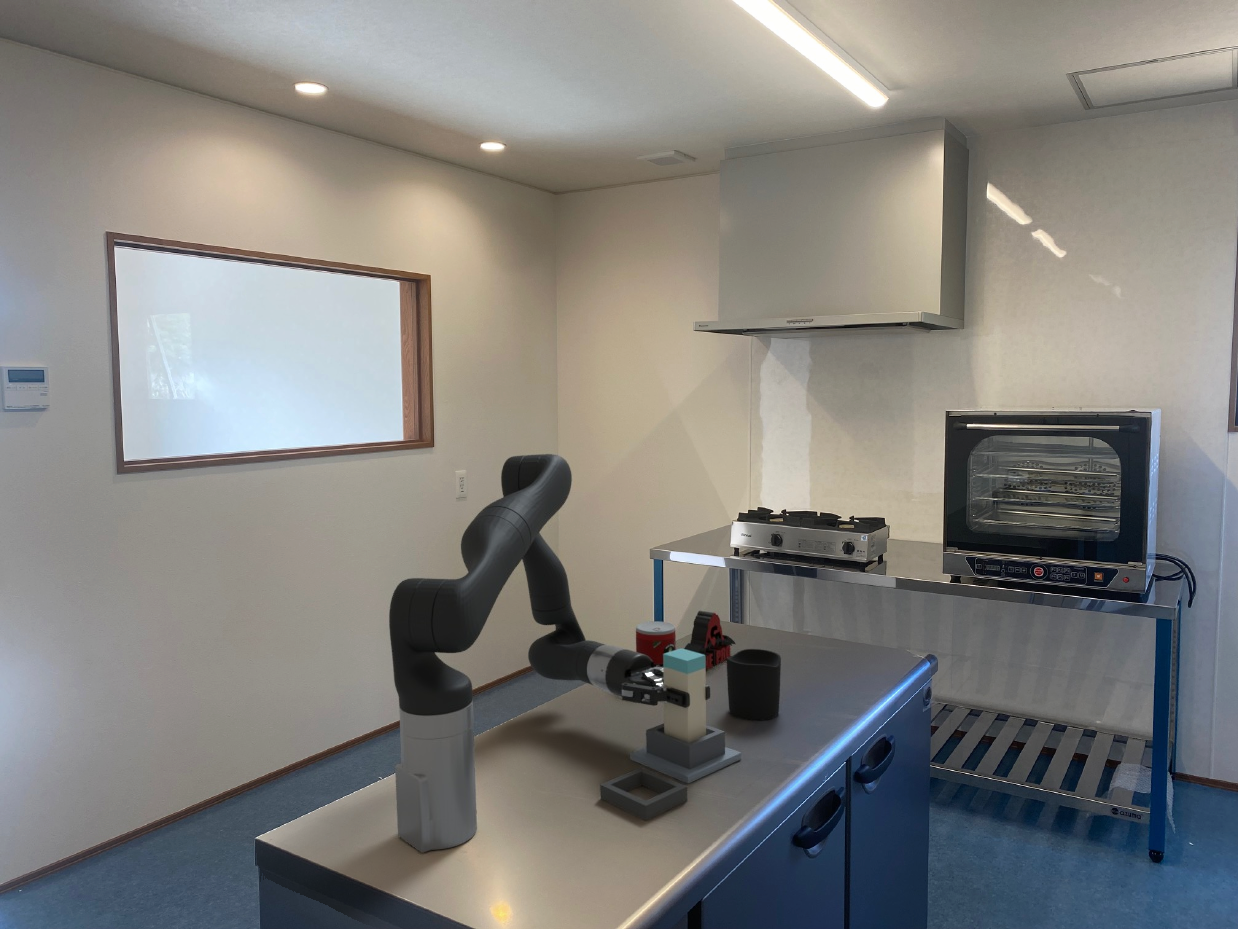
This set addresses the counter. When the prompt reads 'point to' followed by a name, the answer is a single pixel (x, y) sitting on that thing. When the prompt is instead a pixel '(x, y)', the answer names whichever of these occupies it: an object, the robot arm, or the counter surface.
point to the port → (685, 754)
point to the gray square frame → (621, 798)
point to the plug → (690, 677)
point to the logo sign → (709, 639)
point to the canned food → (655, 640)
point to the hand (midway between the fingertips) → (698, 696)
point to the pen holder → (754, 684)
